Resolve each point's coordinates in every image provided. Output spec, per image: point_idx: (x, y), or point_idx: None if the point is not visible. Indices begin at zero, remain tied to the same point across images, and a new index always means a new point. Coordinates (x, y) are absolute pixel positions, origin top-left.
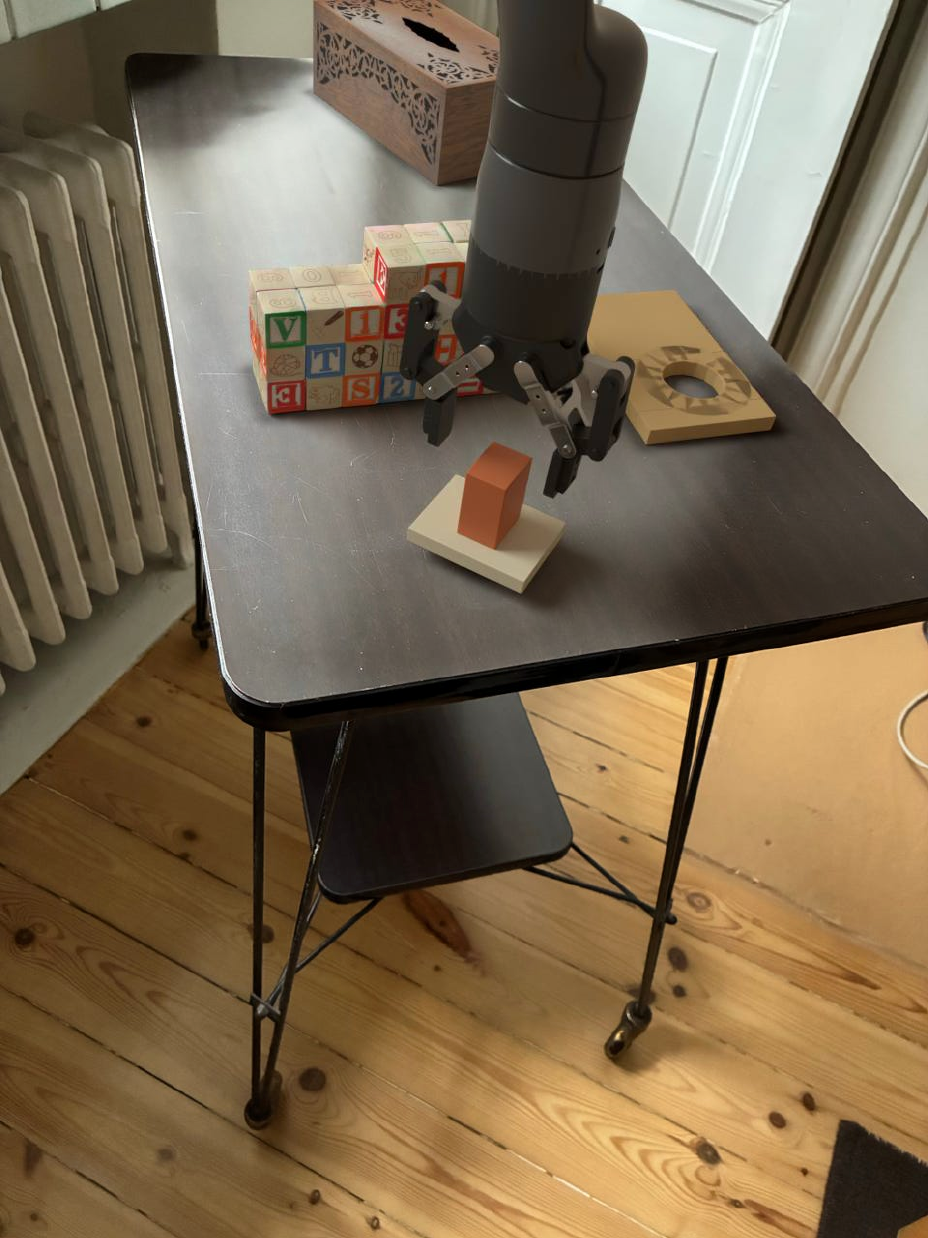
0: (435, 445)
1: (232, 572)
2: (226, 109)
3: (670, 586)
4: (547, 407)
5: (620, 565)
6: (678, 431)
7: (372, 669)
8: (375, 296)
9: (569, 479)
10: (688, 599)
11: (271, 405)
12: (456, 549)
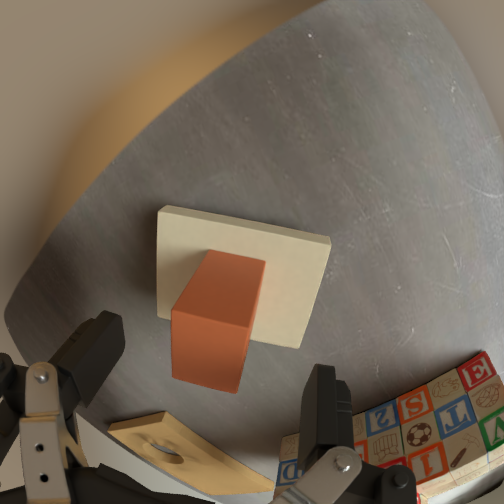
0: (318, 364)
1: (488, 135)
2: (470, 492)
3: (79, 280)
4: (29, 451)
5: (118, 291)
6: (148, 421)
7: (297, 38)
8: (419, 488)
9: (70, 336)
10: (65, 271)
11: (485, 357)
12: (255, 231)
